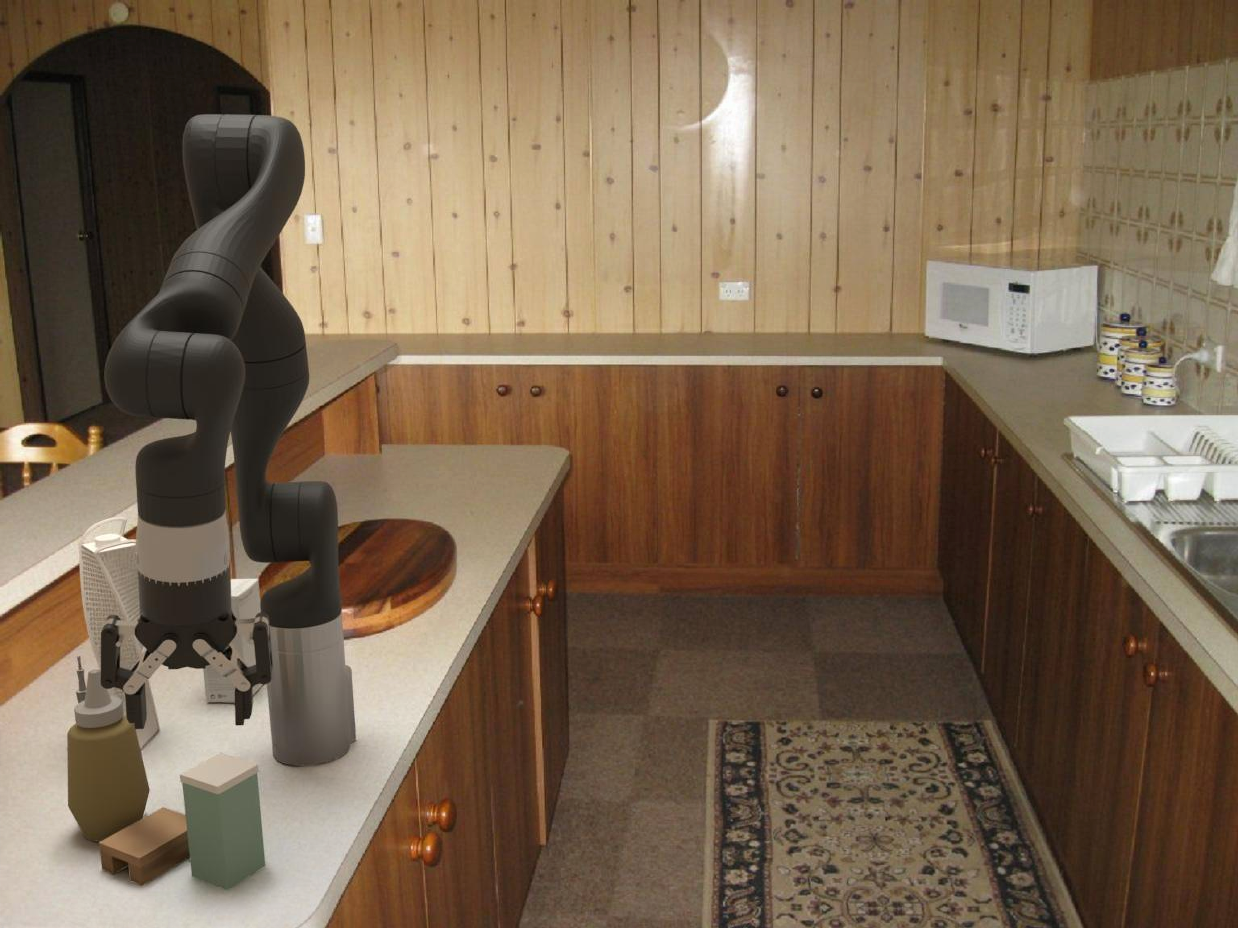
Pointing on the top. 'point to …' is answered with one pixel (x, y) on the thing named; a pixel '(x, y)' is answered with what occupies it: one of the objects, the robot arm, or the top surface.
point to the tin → (223, 820)
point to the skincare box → (236, 640)
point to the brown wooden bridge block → (147, 846)
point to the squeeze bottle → (104, 765)
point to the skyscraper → (113, 607)
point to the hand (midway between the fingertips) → (190, 722)
